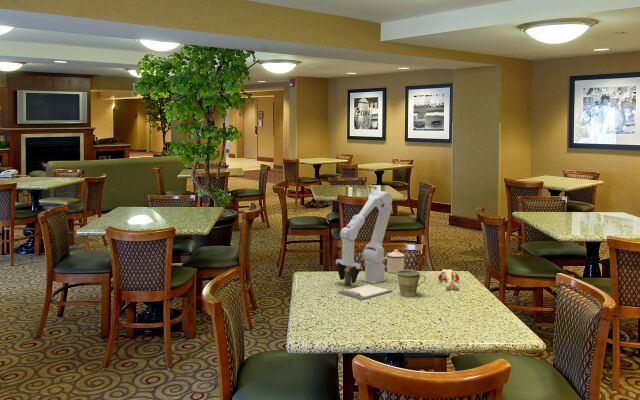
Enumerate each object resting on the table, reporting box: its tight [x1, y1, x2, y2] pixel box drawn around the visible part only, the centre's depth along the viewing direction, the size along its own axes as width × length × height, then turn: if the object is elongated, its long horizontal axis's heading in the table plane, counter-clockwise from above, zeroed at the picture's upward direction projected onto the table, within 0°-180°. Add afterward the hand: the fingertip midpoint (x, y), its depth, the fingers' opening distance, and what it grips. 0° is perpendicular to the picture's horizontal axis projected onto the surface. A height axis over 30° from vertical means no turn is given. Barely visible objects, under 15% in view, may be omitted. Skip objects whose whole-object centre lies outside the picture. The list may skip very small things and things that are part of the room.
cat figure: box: [437, 269, 460, 292], centre depth 286 cm, size 10×9×25 cm
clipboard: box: [337, 283, 393, 301], centre depth 270 cm, size 20×15×2 cm
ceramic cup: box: [396, 269, 427, 297], centre depth 267 cm, size 13×10×10 cm
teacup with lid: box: [382, 249, 406, 275], centre depth 310 cm, size 12×9×12 cm
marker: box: [344, 267, 352, 287], centre depth 282 cm, size 3×3×8 cm
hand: (347, 281), depth 282 cm, fingers open, 7 cm apart
